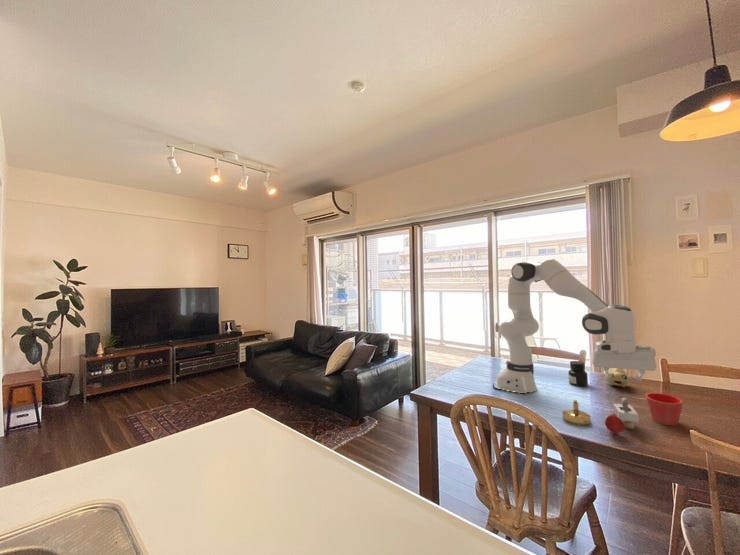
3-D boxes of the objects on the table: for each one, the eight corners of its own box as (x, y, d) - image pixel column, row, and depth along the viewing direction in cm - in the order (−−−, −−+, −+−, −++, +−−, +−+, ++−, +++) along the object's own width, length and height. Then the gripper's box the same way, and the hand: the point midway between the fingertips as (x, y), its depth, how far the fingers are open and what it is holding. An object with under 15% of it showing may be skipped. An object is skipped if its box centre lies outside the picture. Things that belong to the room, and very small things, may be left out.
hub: (564, 423, 130) (563, 403, 130) (561, 413, 138) (560, 394, 138) (593, 427, 125) (592, 406, 125) (588, 417, 134) (587, 397, 134)
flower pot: (675, 430, 120) (674, 405, 120) (641, 418, 130) (640, 396, 130) (689, 423, 124) (687, 399, 124) (655, 413, 134) (654, 391, 134)
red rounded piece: (608, 436, 118) (607, 415, 118) (603, 429, 123) (602, 409, 123) (627, 438, 116) (626, 417, 116) (621, 431, 121) (620, 411, 121)
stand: (620, 427, 124) (618, 400, 124) (616, 422, 128) (615, 395, 128) (636, 429, 122) (634, 402, 122) (632, 424, 126) (630, 397, 126)
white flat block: (619, 419, 122) (618, 412, 122) (613, 410, 130) (613, 403, 130) (638, 422, 120) (638, 414, 120) (631, 412, 128) (631, 405, 128)
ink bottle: (567, 380, 179) (566, 359, 179) (585, 381, 175) (584, 360, 175) (570, 386, 170) (569, 364, 170) (589, 387, 166) (588, 365, 166)
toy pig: (606, 388, 164) (605, 368, 164) (605, 381, 174) (604, 362, 174) (630, 391, 158) (629, 371, 158) (628, 384, 168) (627, 364, 168)
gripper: (652, 344, 123) (654, 379, 123) (590, 342, 132) (592, 374, 132) (658, 348, 117) (660, 384, 117) (593, 345, 127) (595, 379, 127)
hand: (623, 379), depth 125 cm, fingers open, 8 cm apart
